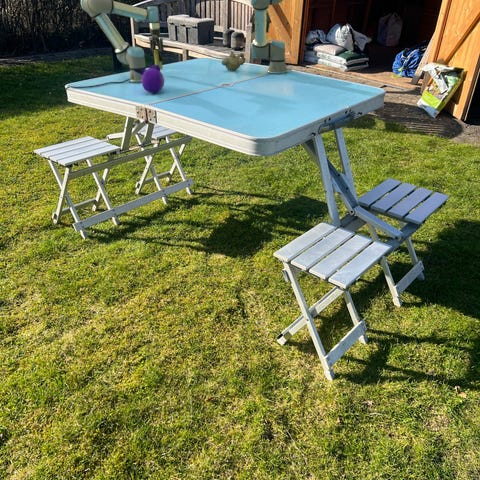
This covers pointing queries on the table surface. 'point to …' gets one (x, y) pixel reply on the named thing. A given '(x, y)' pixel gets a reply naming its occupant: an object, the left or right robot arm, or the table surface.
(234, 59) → the teapot
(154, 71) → the toy
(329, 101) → the table surface
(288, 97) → the table surface
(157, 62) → the olive green upright cylinder
